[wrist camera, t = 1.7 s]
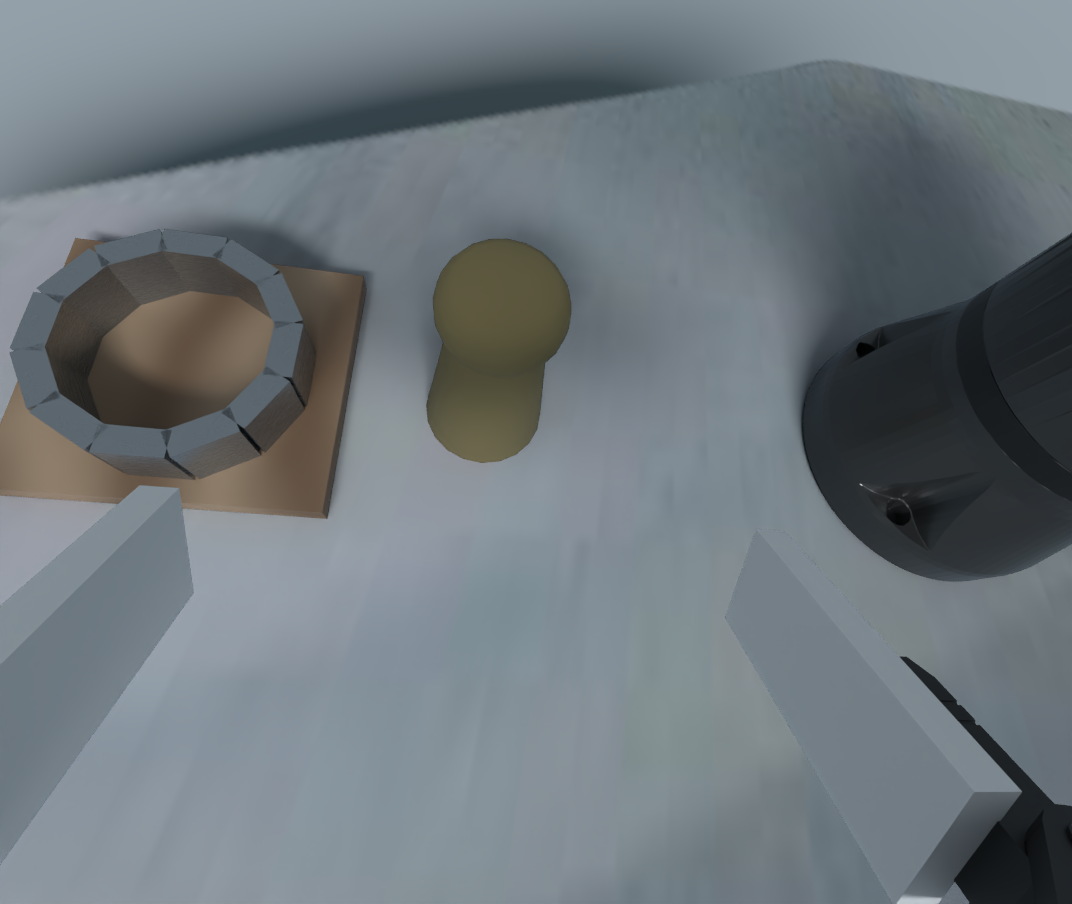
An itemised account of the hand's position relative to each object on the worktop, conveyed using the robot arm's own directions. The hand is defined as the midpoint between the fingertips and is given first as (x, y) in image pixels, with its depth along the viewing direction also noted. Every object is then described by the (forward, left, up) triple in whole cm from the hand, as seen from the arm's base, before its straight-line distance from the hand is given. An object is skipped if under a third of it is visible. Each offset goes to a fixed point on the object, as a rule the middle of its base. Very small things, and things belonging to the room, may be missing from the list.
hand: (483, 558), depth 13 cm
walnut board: (+14, -10, -14) cm, 22 cm away
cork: (0, -10, -14) cm, 18 cm away
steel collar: (+14, -10, -13) cm, 21 cm away
